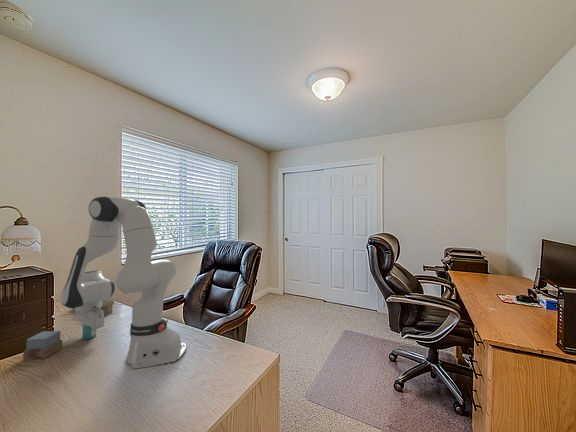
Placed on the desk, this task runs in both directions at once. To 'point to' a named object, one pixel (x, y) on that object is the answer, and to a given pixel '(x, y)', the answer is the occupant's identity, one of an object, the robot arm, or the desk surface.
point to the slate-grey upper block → (43, 340)
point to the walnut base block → (42, 352)
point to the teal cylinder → (87, 333)
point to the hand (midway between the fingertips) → (89, 333)
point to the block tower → (107, 306)
